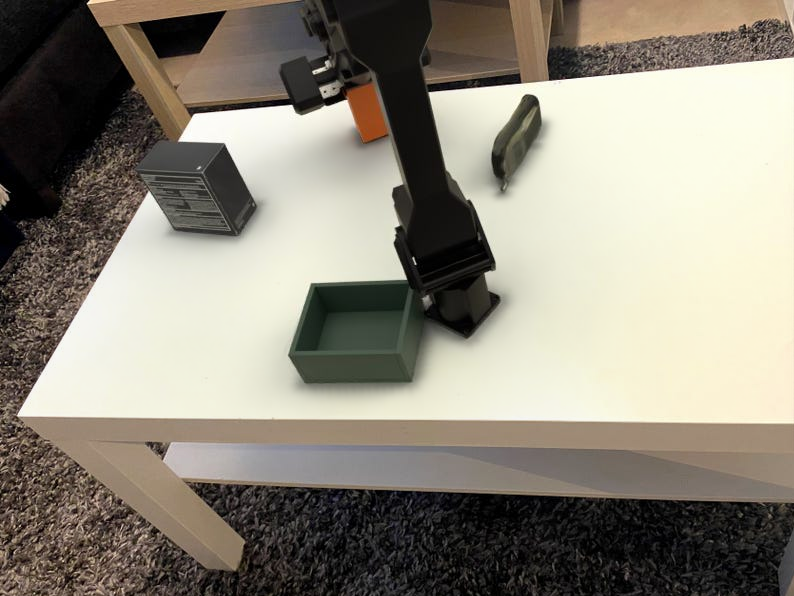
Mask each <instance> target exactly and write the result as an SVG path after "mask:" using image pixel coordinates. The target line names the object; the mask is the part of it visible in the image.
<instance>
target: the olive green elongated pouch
mask: <svg viewBox="0 0 794 596" xmlns="http://www.w3.org/2000/svg"><path fill="white" fill-rule="evenodd" d="M542 120H543V119H542V109H541V104H540V101H539V97H538V96H536V95H535V94H532V93H531V94H529V93H525V94H524V95H523V96H522V97H521V99H520V102H519V104H518V105H517V107H516V109H514V111H513V112H512V115H511V116H510V118H509V120H508V121H507V123H505V124H504V126H503V127H502V129H500V131H498V133H497V135H496V137H495V138H494V141H493V146H492V149H491V153H490V162H491V167H492V172H493V175H494V177H495V179H499V180H501V182H502V183H501V185H500V187H499V190H500V192H503V193H504V192H505V191H506V189H507V187H508V184H509V182H510V180H511V178H512V176H513V174H514V173H515V172H516V170H517V169H518V167H519V166H520V165H521V163H522V162H523V160H524V158H525V157H526V155H527V152H528V151H529V149H530V148H531V146H532V145H533V143H534V141H535V139H536V137H537V136H538V134H539V133H540V131H541V127H542V124H543V121H542Z"/></svg>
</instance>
